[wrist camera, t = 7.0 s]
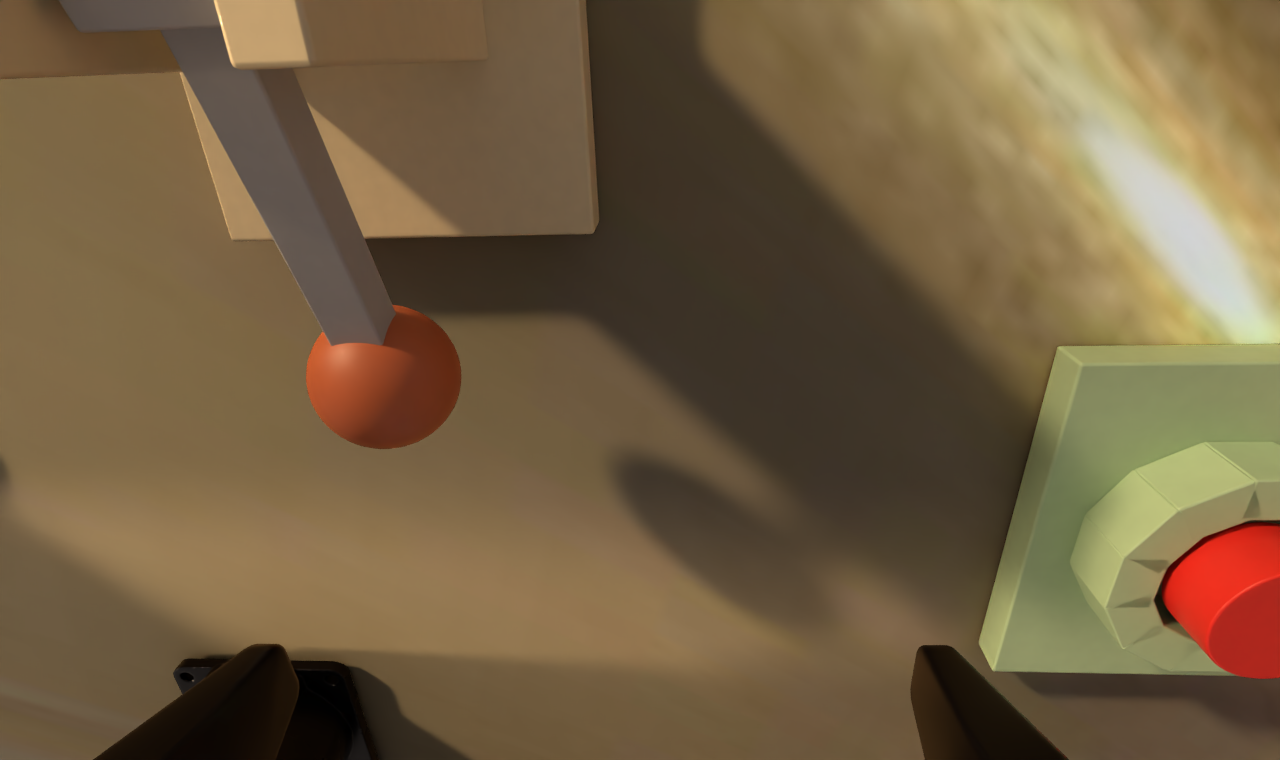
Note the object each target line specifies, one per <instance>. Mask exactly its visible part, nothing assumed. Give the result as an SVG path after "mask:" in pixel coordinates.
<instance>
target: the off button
mask: <svg viewBox="0 0 1280 760" xmlns="http://www.w3.org/2000/svg"><path fill="white" fill-rule="evenodd" d="M1161 593H1162V599H1163V602H1164V605H1165V607H1166V608H1167V610H1168V611H1169V612H1170V613H1171V615H1172V616H1173V617H1174V618H1175V619H1176V620H1177V621H1178V622H1179V624H1180V625H1181V626H1182V627H1183V628H1184V629H1185V630H1186V632H1187V633H1188V634H1189V635H1190V636H1191V637H1192V638H1193V640H1194V641H1195V642H1196V643H1197V644H1198V645H1199V646H1200V648H1201V649H1202V650H1203V651H1204V652H1205V653H1206V654H1207V656H1208V657H1209V658H1210V659H1211V660H1212V661H1213V662H1214V663H1215V664H1216V665H1217V666H1219V667H1220V668H1222V669H1224V670H1225V671H1227V672H1230V673H1232V674H1234V675H1238V676H1242V677H1247V678H1257V679H1271V678H1280V524H1276V523H1270V522H1251V523H1244V524H1239V525H1236V526H1233V527H1231V528H1228V529H1225V530H1222V531H1220V532H1217V533H1214V534H1211V535H1208V536H1206V537H1203V538H1202V539H1201V540H1200V541H1199V542H1197V543H1196V544H1195V545H1194V546H1192V547H1191V548H1190V549H1189V550H1188V551H1186V552H1185V553H1184V554H1183V555H1182V556H1180V557H1179V558H1178V559H1177V560H1176V561H1174V562H1173V563H1172V564H1171V565H1170V566H1169V568H1168V569H1167V571H1166V573H1165V575H1164V578H1163V581H1162V587H1161Z"/></svg>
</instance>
